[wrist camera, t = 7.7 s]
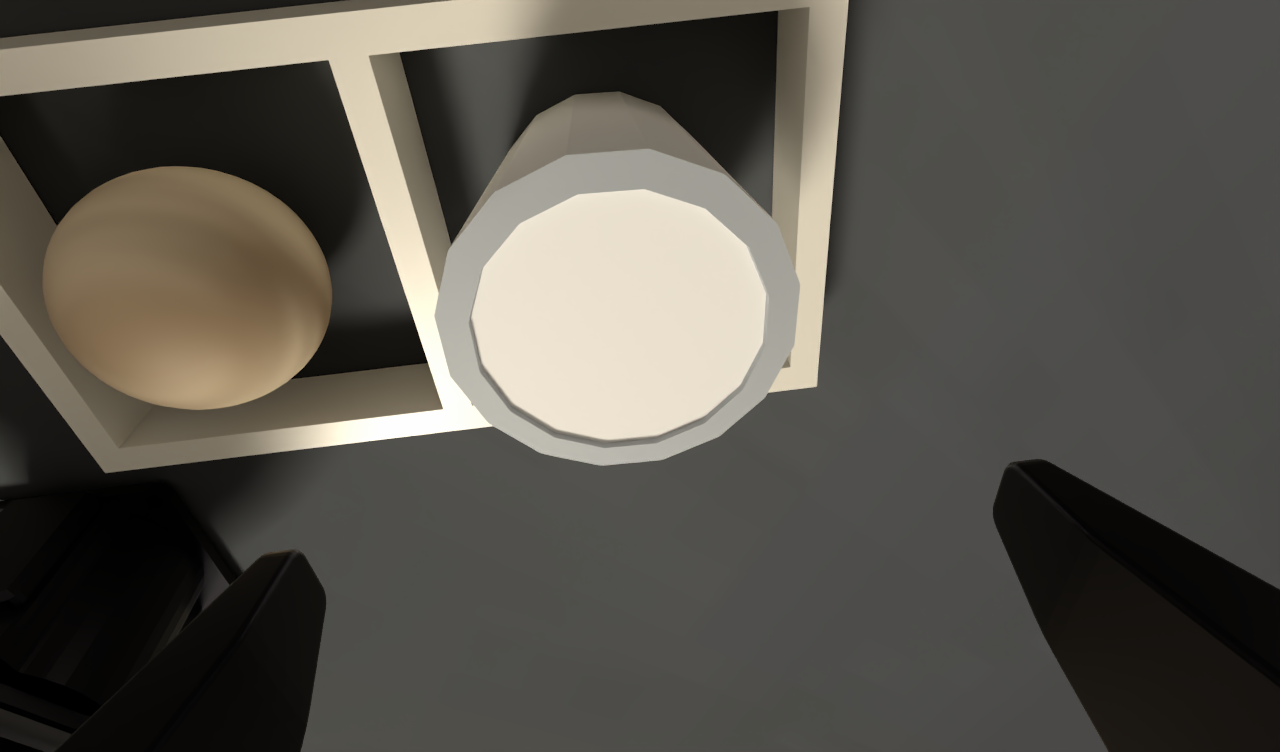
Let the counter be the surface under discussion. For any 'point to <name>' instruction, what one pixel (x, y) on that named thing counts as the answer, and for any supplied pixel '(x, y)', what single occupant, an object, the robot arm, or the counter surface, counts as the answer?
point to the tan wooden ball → (187, 287)
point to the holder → (378, 199)
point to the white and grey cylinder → (615, 289)
